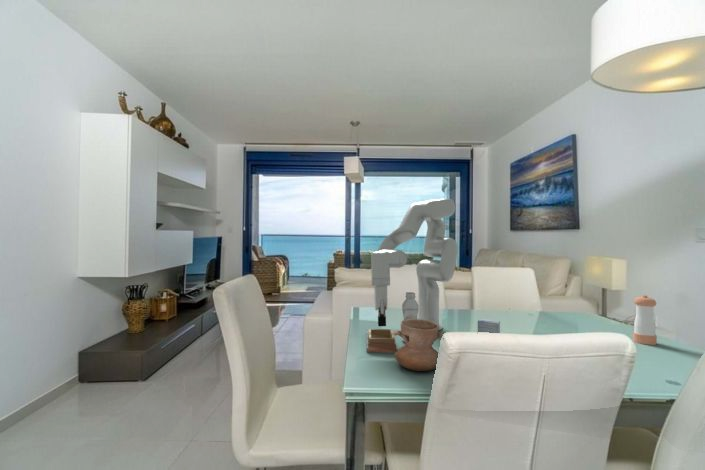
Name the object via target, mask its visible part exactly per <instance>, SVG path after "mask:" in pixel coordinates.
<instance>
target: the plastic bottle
mask: <svg viewBox="0 0 705 470" xmlns="http://www.w3.org/2000/svg"><path fill="white" fill-rule="evenodd" d="M404 297H405V300H404V301H403V302H402V305H401V309H402V319H403V320H408V319H418V309H419V306H418V302H417V300H416V292H413V291H412V292H411V291H410V292H405V296H404ZM401 339H402V341H403V342H404V343H405V340H404V339H403V338H402V337H401Z"/></svg>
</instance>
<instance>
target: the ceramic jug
mask: <svg viewBox="0 0 705 470" xmlns="http://www.w3.org/2000/svg"><path fill="white" fill-rule="evenodd" d="M438 328H439V325H438V324H437V323H435V322H433V321H429V320H424V319H418V318H417V319H408V320H404V319H403V320H401V321H400V330H397V329H396V330H394V331H393V330H392V331H393V334H394V336H399V337H400V338H401V339H402V338H403V339H404V340H405V342H404V343H405V345H402V347H400V348H399V349H398V351H397V352H396V353H394V358H395V360H396V361H397V363H398V364H399V365H400V366H402V367H404V368H405V369H407V370H410V371H415V372H428V371H433V370H435V369H437V368H436V364H437V358H438V353H439V351H438V350H436V349H435V348H434V346H433V344H434V342H435V341H437V340H438V339H441V338H442V336H443V334H444V333H438V332H439V330H438ZM442 339H443V338H442Z"/></svg>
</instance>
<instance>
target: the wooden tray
mask: <svg viewBox="0 0 705 470" xmlns="http://www.w3.org/2000/svg"><path fill="white" fill-rule="evenodd" d="M365 338H366V339H365V340H366V343H365V344H366V345H365V346H366V353H387V354H388V353H392V354H393V353H394V354H395V353H396V352H397V351H398V350H399V349H398V345H397V342H396V340H395V344H386V343H369V329H365Z"/></svg>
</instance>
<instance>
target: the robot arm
mask: <svg viewBox="0 0 705 470" xmlns="http://www.w3.org/2000/svg"><path fill="white" fill-rule="evenodd" d="M455 212H456V204H455V202H454V200H453V199H451V198H448V197H447V198H438V199H437V198H436V199H427V200H424V201H417V202H413V203H412V204H411V205H410V206H409V207H408V209H407V210H406V213H405V215H404V217H403V219H402V220H401V222H400V224H399V226H398V227H397V228H396V229H395V230H394V229H393V231H392V232H391V233H390V234H388V236H386V237H385V238H384V239H383V240H382V242H381V243H380V245H379V247H378V249H377V251H373V252H372V253H371V254H370V263H371V264H370V268H371V286H373V291H374V293H373V296H374V297H373V298H374V299H373V300H374V310H375V311H377V313H378V315H377V325H378V327H386V326H387V316H386V311H387V310H388V287H389V286H390V285H391V272H390V271H391V270H390V269H391V268H393V269H394V268H395V269H398V268H403V267H404V266H405V265H407V263H408V255H407V254H406V252H405V251H403V250H400V249H396V248H397V247H398V246H400V245H402V244H403V243H407V242H408V241H411V240H412V239H414V238H415V237H416V236H417V235H418V233H419V232H420V228H421V226H422V225H423V223H424V221H425V222H426V225H427V228H426V234H425V239H424V240H425V241H424V245H423V253H424V254H425V256H426V257H429V259H427V258H426V259H422V260H420V261H418V263H417V264H416V268H415V270H416V277H417V283H418V284H417V285H418V286H417V287H418V302H417V303H418V306H419V309H418V317H417V319H424V320H429V321H433V322H435V323H437V324H438V325H439V328H438V331H440V330H442V329H443V324H441V323H440V288H439V285H438V283H437V282H443V283H446V282H450V281H451V280H452V279H453V276H454V273H455V268H456V263H457V258H458V251H459V250H458V244H457V241H456V240H455V239H454V238H452V237H446V236H445V235H446V225H445V222H444V221H443V219H446V218H449V217H452V216H453V215H454V214H455ZM430 258H437V259H430ZM439 258H440V260H439Z"/></svg>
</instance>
